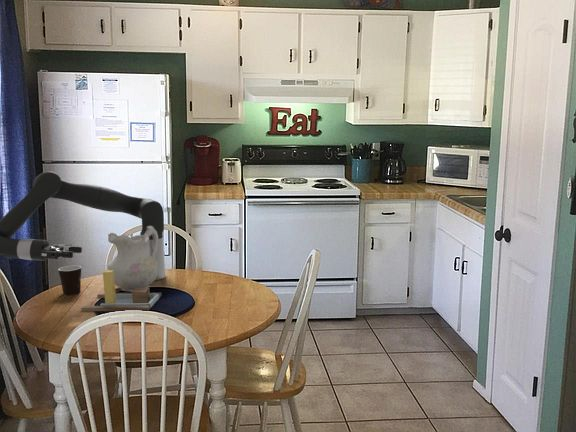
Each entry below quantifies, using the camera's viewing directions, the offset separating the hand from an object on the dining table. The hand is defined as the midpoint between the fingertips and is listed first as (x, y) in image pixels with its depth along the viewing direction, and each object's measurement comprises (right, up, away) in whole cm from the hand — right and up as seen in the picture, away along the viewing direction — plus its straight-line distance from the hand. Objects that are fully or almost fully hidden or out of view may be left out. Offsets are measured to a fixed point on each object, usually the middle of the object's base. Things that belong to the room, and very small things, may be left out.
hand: (77, 252), depth 242 cm
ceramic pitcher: (+16, -16, +24) cm, 33 cm away
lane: (+16, -20, +3) cm, 26 cm away
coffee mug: (-9, -17, +24) cm, 30 cm away
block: (+23, -18, +2) cm, 29 cm away
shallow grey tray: (+19, -20, +3) cm, 27 cm away
